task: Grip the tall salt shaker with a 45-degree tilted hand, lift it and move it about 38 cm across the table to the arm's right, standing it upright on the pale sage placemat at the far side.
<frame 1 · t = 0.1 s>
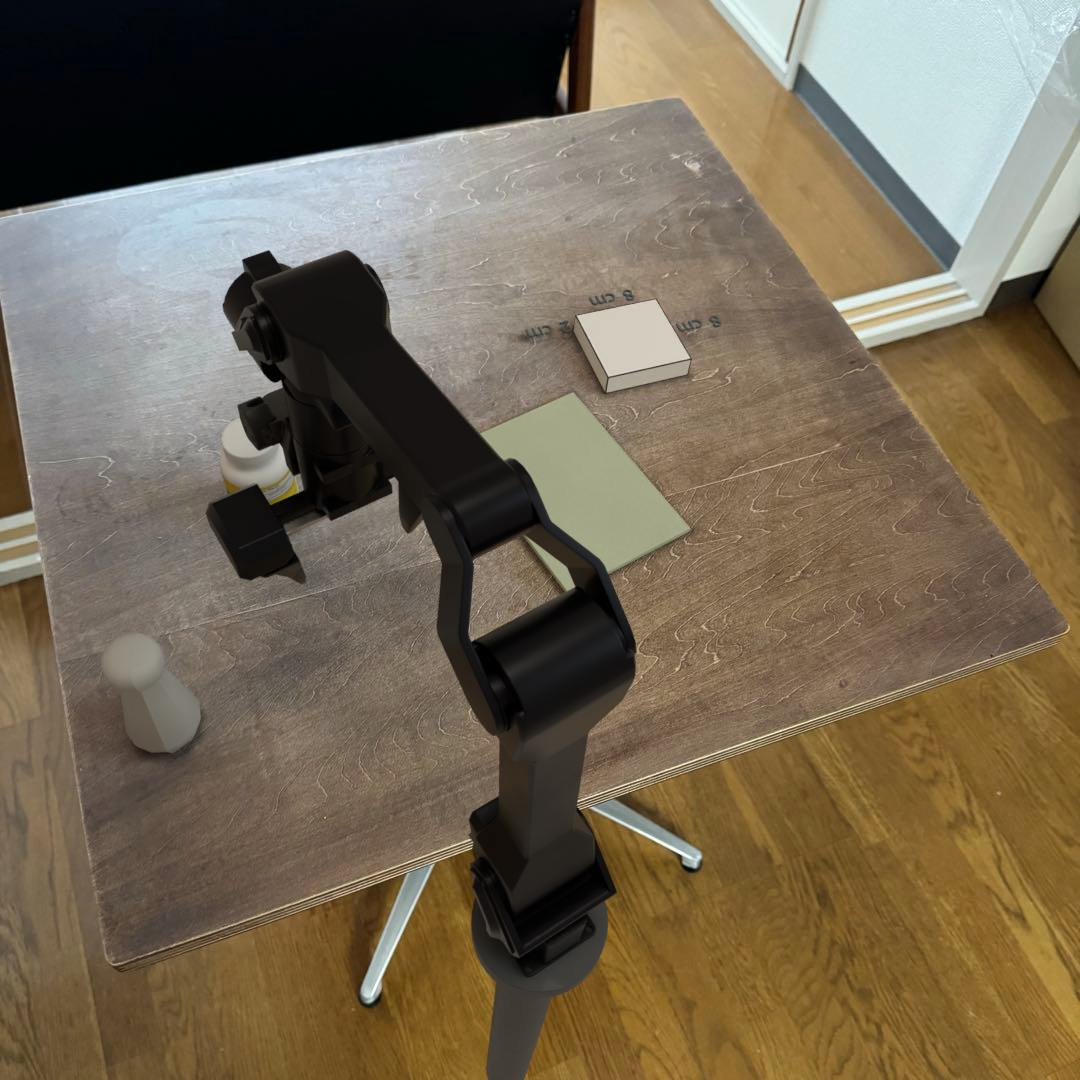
hand: (354, 553, 82), 12 cm above the table, tool pointing down, fingers open, 9 cm apart
salt shaker: (170, 730, 85), on the table
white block: (625, 347, 113), on the table
placemat: (570, 488, 102), on the table
pill bottle: (269, 513, 98), on the table
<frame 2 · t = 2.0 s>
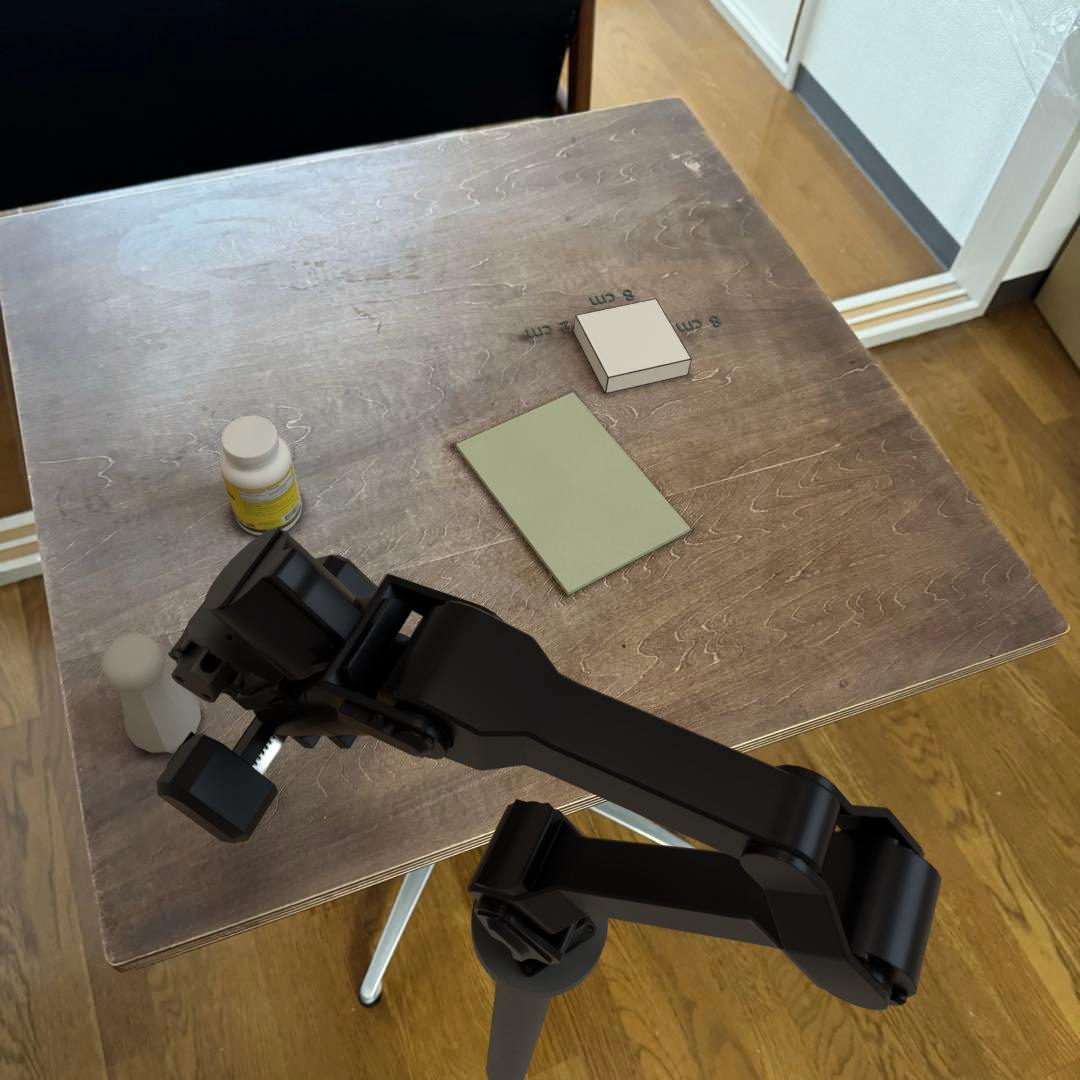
hand: (223, 695, 72), 13 cm above the table, tool tilted 45°, fingers open, 9 cm apart
nothing on the table moved.
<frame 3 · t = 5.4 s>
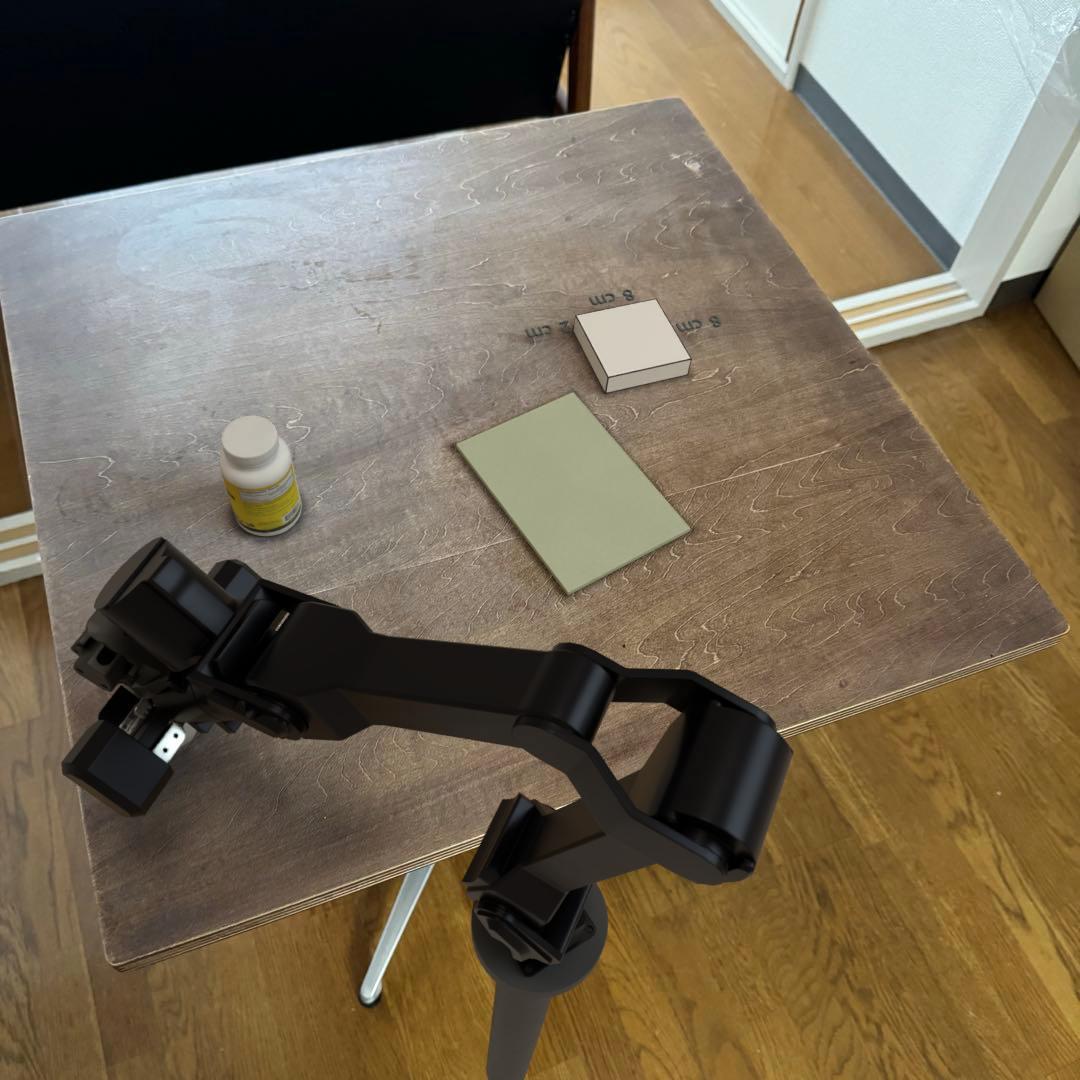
hand: (135, 686, 80), 7 cm above the table, tool tilted 45°, fingers closed on salt shaker, 3 cm apart
salt shaker: (170, 730, 85), on the table, touching gripper
everything else where it was.
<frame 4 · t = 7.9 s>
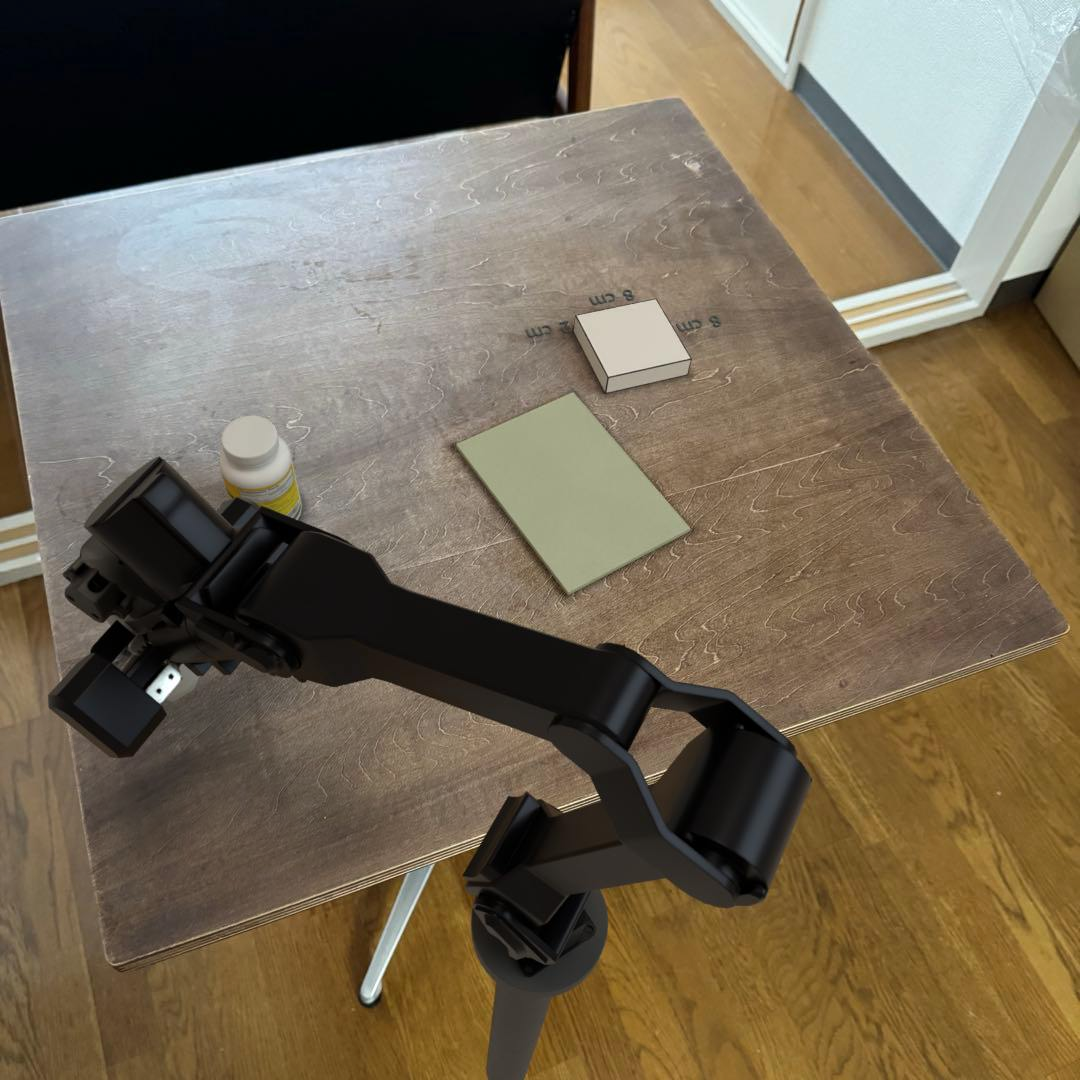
hand: (136, 627, 76), 12 cm above the table, tool tilted 45°, fingers closed on salt shaker, 3 cm apart
salt shaker: (172, 679, 82), point 5 cm above the table, touching gripper
everything else where it was.
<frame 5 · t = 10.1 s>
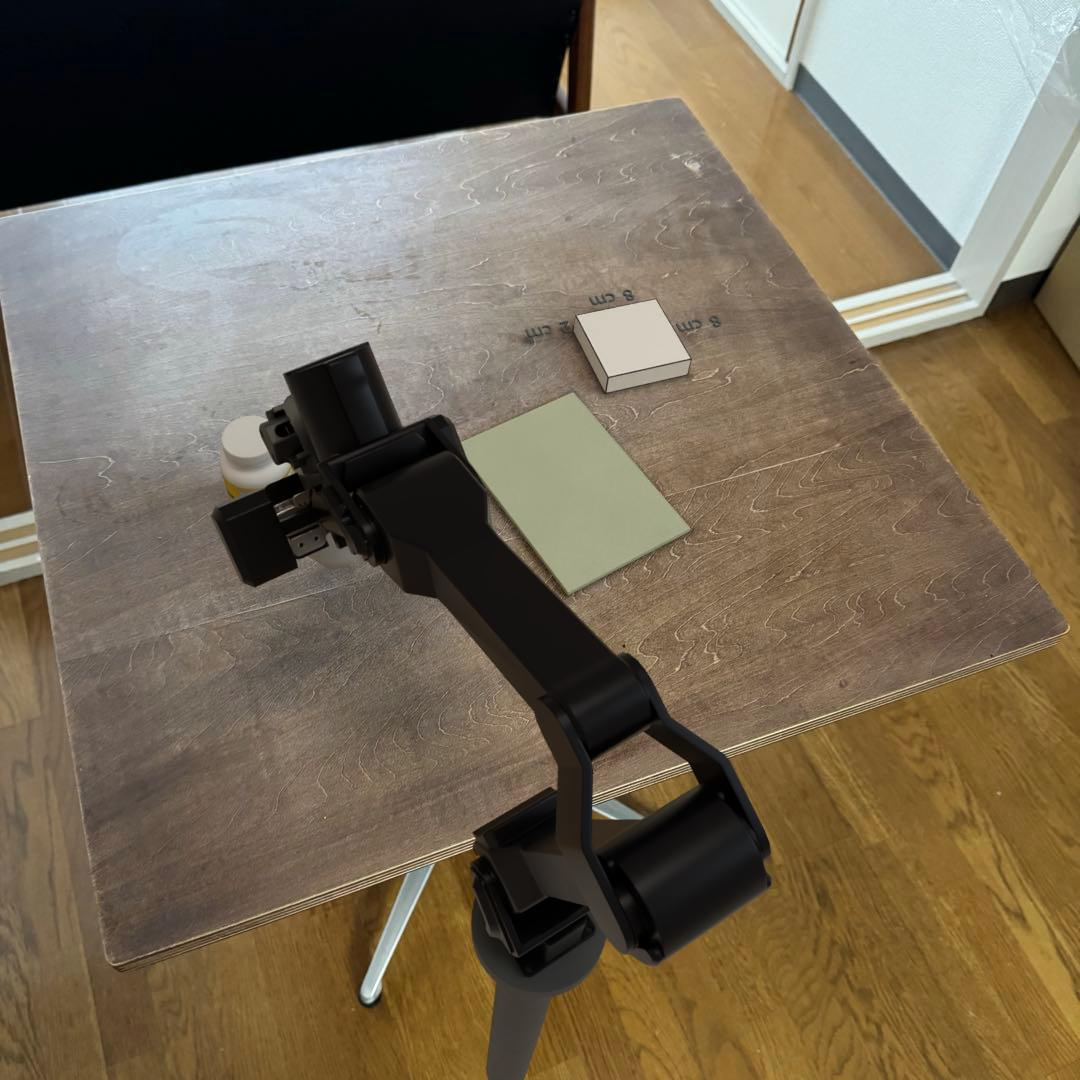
hand: (322, 491, 84), 12 cm above the table, tool tilted 45°, fingers closed on salt shaker, 3 cm apart
salt shaker: (337, 551, 89), point 5 cm above the table, touching gripper
everything else where it was.
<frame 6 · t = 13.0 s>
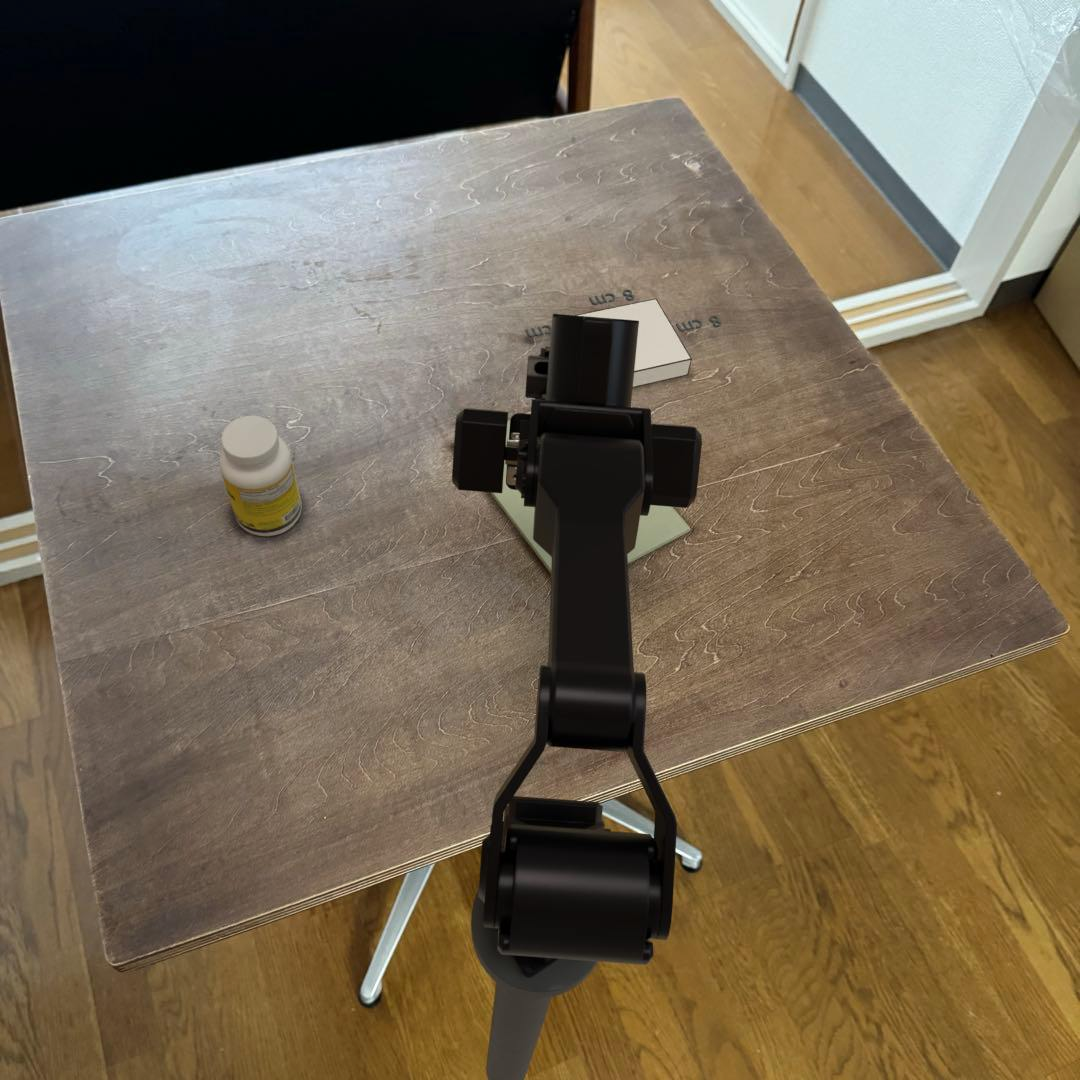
hand: (572, 449, 89), 12 cm above the table, tool tilted 45°, fingers closed on salt shaker, 3 cm apart
salt shaker: (564, 509, 93), point 5 cm above the table, touching gripper
everything else where it was.
when the fingers open (7 cm above the table, at t = 15.2 s): salt shaker stays where it is, resting on placemat.
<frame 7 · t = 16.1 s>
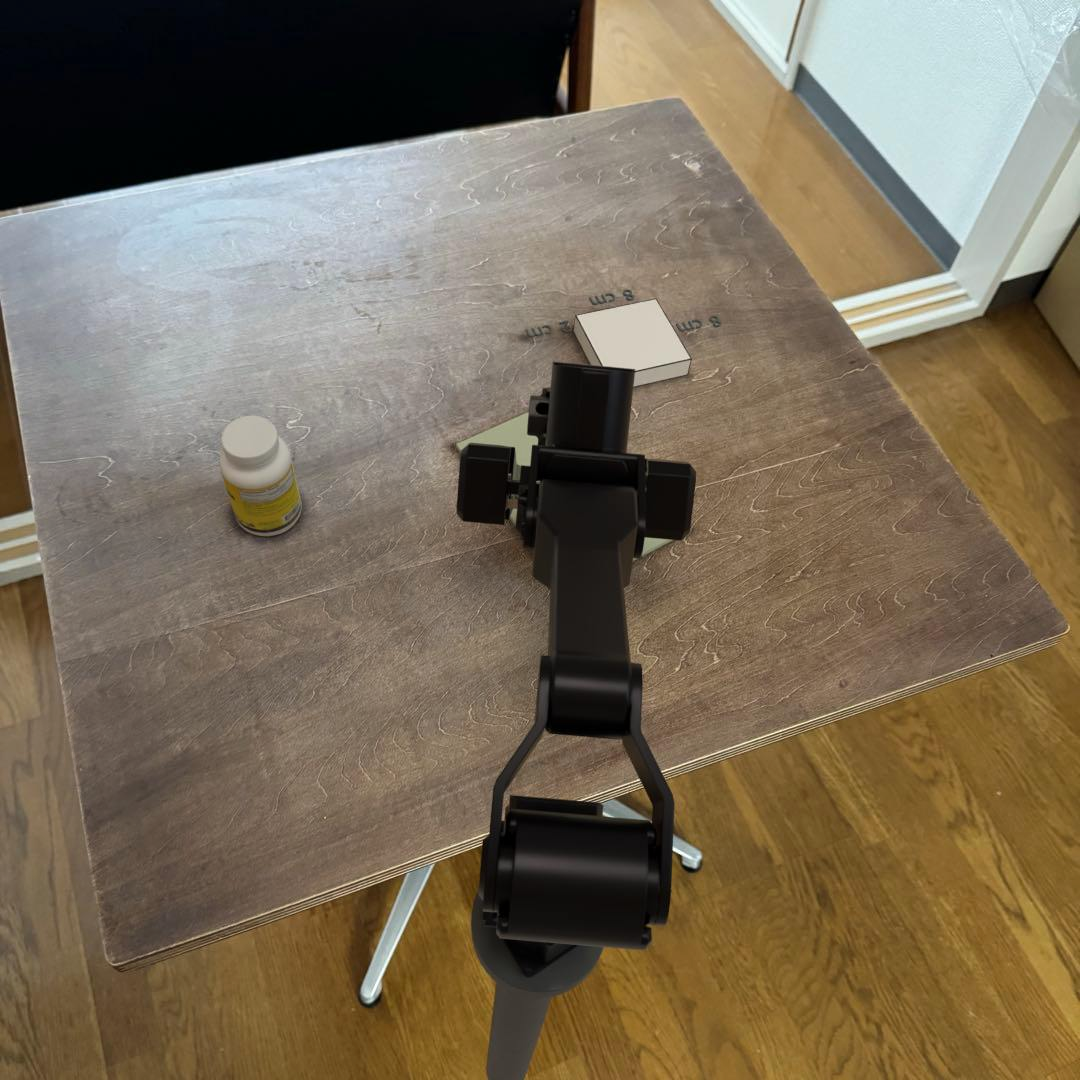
hand: (572, 478, 92), 8 cm above the table, tool tilted 45°, fingers open, 9 cm apart
salt shaker: (564, 542, 97), resting on placemat
everything else where it was.
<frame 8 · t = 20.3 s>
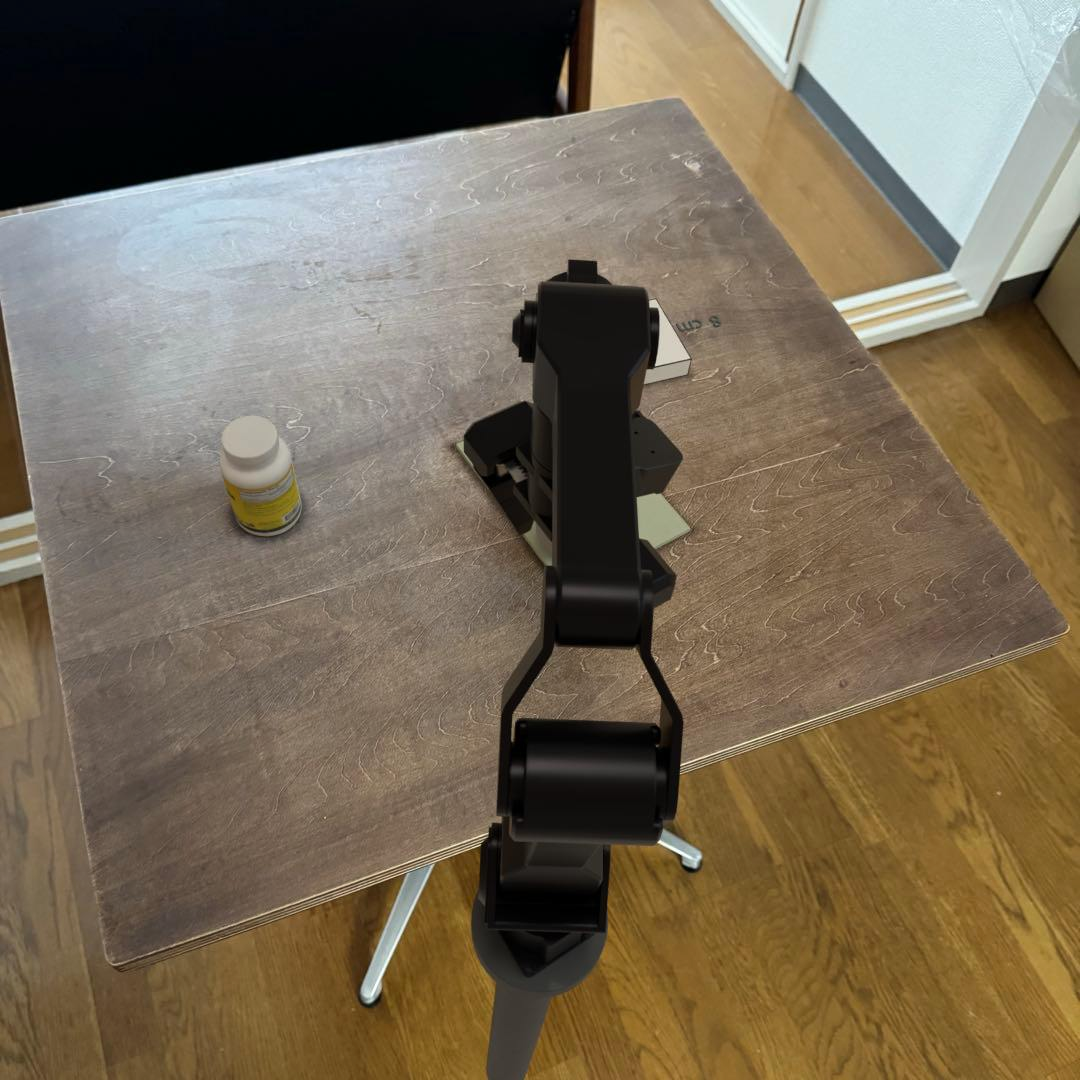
hand: (556, 574, 80), 13 cm above the table, tool pointing down, fingers open, 9 cm apart
nothing on the table moved.
at the end: salt shaker inside the target area on the placemat (4.7 cm from its centre), point 0.4 cm above the placemat's base; salt shaker tilted 0°; salt shaker moved 37.9 cm from its start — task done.
